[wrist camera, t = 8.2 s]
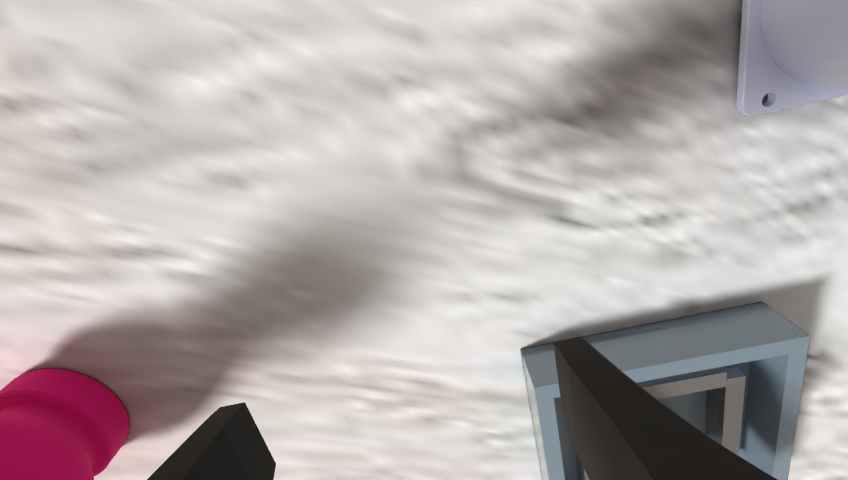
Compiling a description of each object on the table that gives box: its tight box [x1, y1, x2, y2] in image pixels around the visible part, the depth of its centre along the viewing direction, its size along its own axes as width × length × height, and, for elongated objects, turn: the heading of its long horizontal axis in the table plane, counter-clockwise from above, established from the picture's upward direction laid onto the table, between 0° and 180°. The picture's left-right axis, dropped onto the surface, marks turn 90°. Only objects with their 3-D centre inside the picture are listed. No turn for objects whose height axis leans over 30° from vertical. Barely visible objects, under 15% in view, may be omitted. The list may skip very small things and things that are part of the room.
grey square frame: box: [575, 365, 746, 480], centre depth 23 cm, size 8×8×1 cm
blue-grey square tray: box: [520, 302, 810, 480], centre depth 23 cm, size 12×12×3 cm
